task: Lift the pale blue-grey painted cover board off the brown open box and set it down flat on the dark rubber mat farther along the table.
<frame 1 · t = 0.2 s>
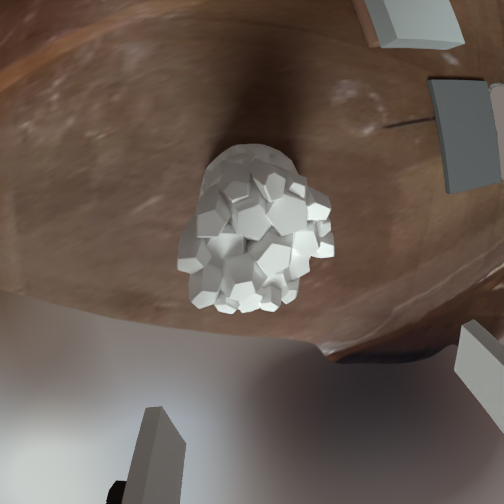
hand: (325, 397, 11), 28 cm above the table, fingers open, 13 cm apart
brown open box: (380, 8, 29), on the table
white ridged column: (249, 189, 36), on the table
mat: (467, 133, 35), on the table
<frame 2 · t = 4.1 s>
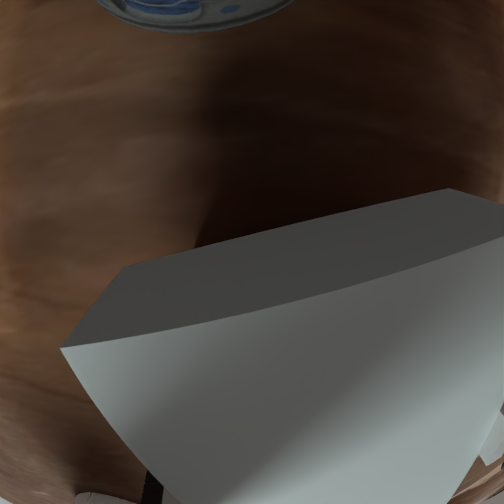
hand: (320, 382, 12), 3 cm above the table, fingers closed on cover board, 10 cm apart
cover board: (329, 410, 11), point 5 cm above the table, touching brown open box, gripper
when the fingers open (2 cm above the table, at t = 11.0 s): cover board drops 3 cm, resting on mat.
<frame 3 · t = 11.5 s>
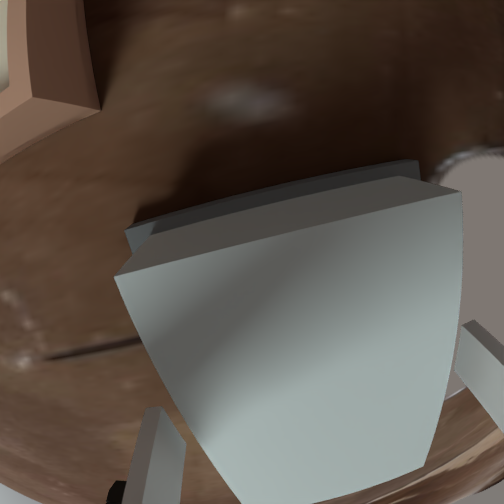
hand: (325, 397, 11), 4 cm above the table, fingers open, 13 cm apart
cover board: (311, 361, 14), point 1 cm above the table, touching mat
brown open box: (16, 40, 9), on the table
mat: (308, 348, 15), on the table
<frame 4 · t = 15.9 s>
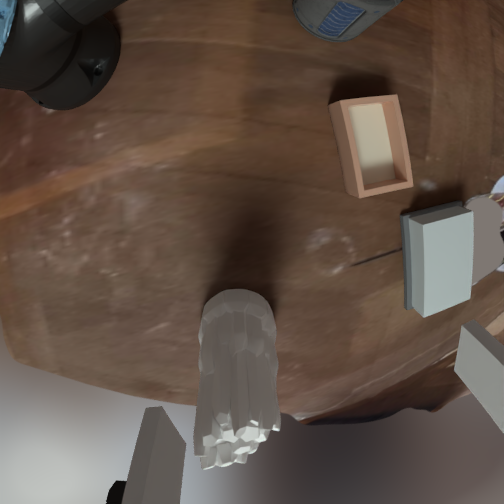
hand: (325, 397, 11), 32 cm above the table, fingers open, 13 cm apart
cover board: (436, 256, 44), point 1 cm above the table, touching mat
brown open box: (364, 144, 39), on the table
white ridged column: (237, 320, 46), on the table
beverage bottle: (321, 12, 32), on the table
mat: (433, 254, 45), on the table
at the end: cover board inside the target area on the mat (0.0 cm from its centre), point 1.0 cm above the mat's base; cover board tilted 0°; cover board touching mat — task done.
